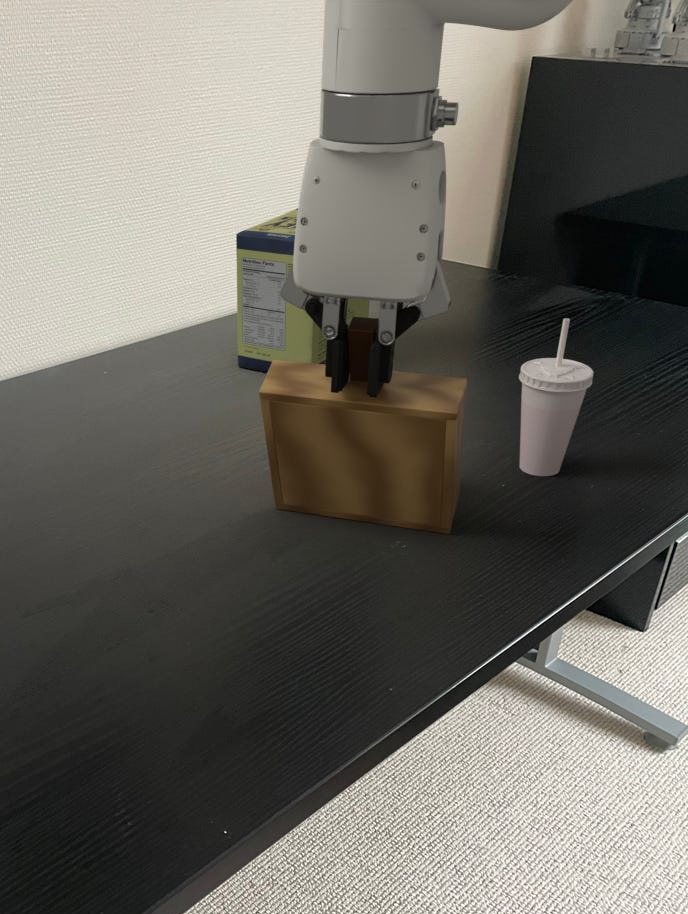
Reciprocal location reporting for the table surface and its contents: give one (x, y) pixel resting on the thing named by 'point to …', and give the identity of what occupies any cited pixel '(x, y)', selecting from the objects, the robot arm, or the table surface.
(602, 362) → the table surface
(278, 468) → the wooden drawer
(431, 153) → the robot arm
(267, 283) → the protein box
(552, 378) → the smoothie
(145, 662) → the table surface
